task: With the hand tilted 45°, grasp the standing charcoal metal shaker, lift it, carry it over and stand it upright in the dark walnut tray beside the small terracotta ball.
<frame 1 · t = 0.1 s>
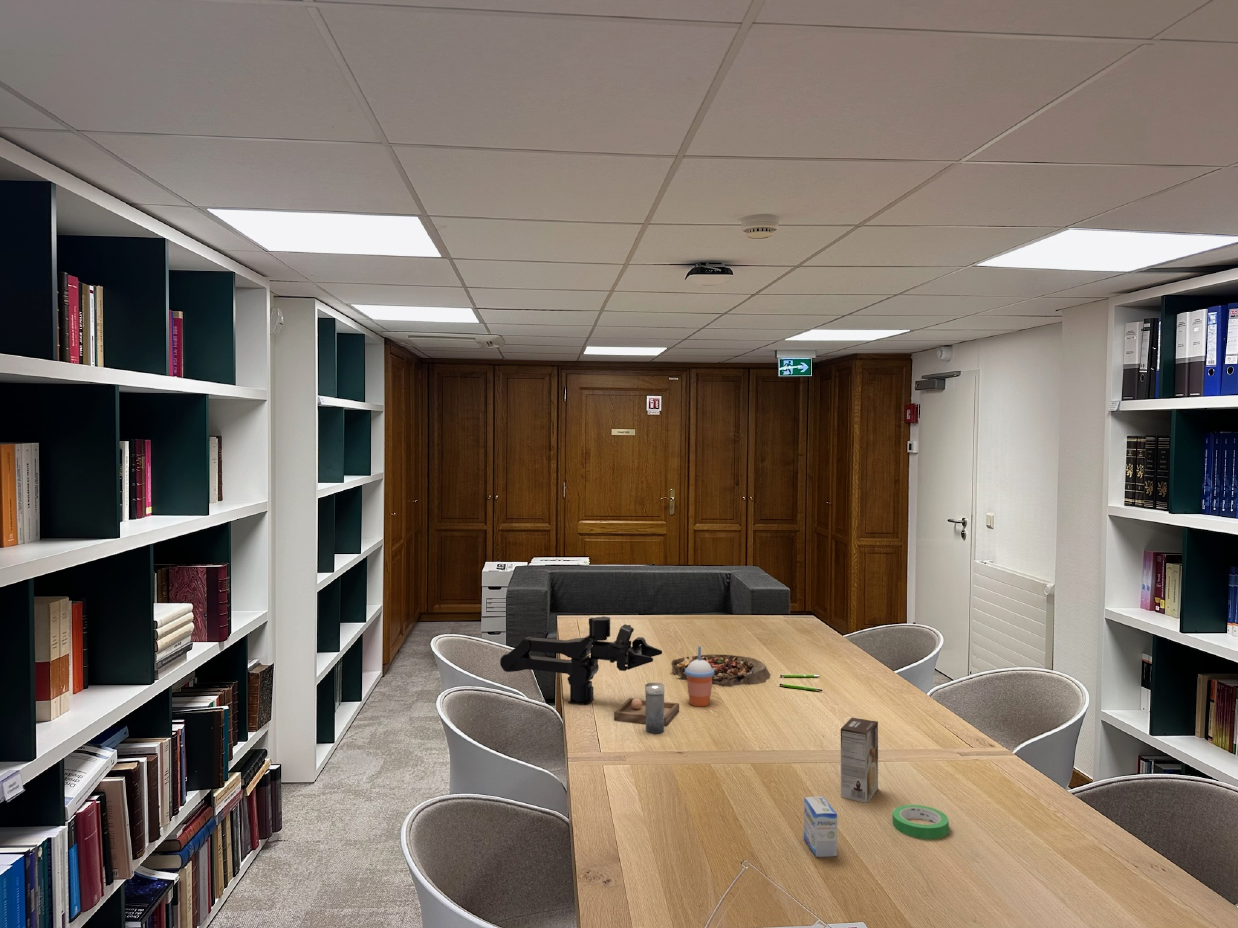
hand: (657, 655, 247), 17 cm above the table, tool horizontal, fingers open, 9 cm apart
tape roll: (920, 828, 171), on the table
shaker: (654, 730, 229), on the table
medicine box: (820, 848, 162), on the table
food dish: (720, 675, 287), on the table
coffee box: (859, 793, 187), on the table
ball: (636, 703, 245), point 3 cm above the table, tilted 132°, touching tray
tray: (647, 715, 242), on the table
cup with straw: (699, 704, 253), on the table
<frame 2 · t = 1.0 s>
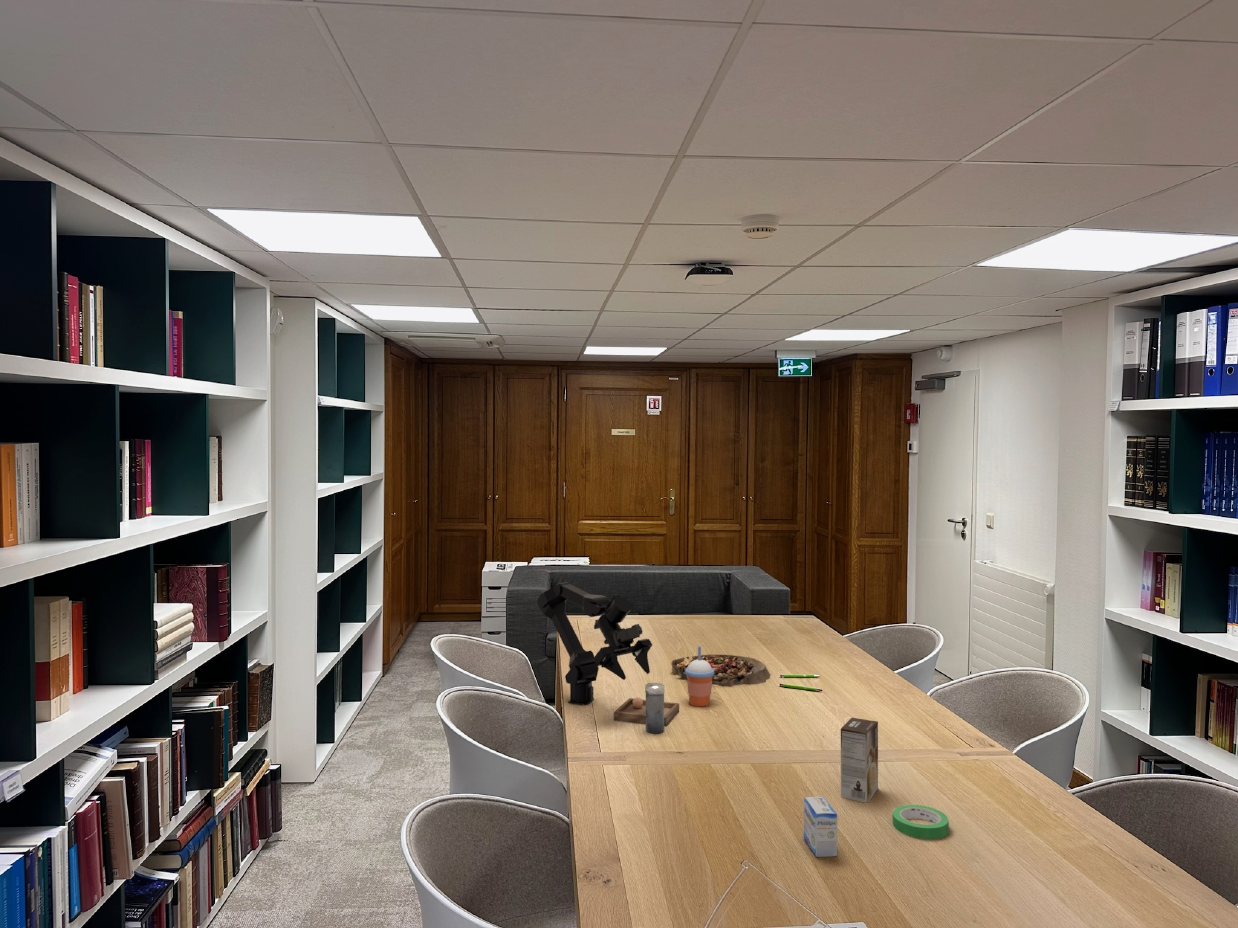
hand: (637, 675, 235), 14 cm above the table, tool tilted 45°, fingers open, 9 cm apart
ball: (637, 702, 246), point 3 cm above the table, tilted 94°, touching tray
everything else where it was.
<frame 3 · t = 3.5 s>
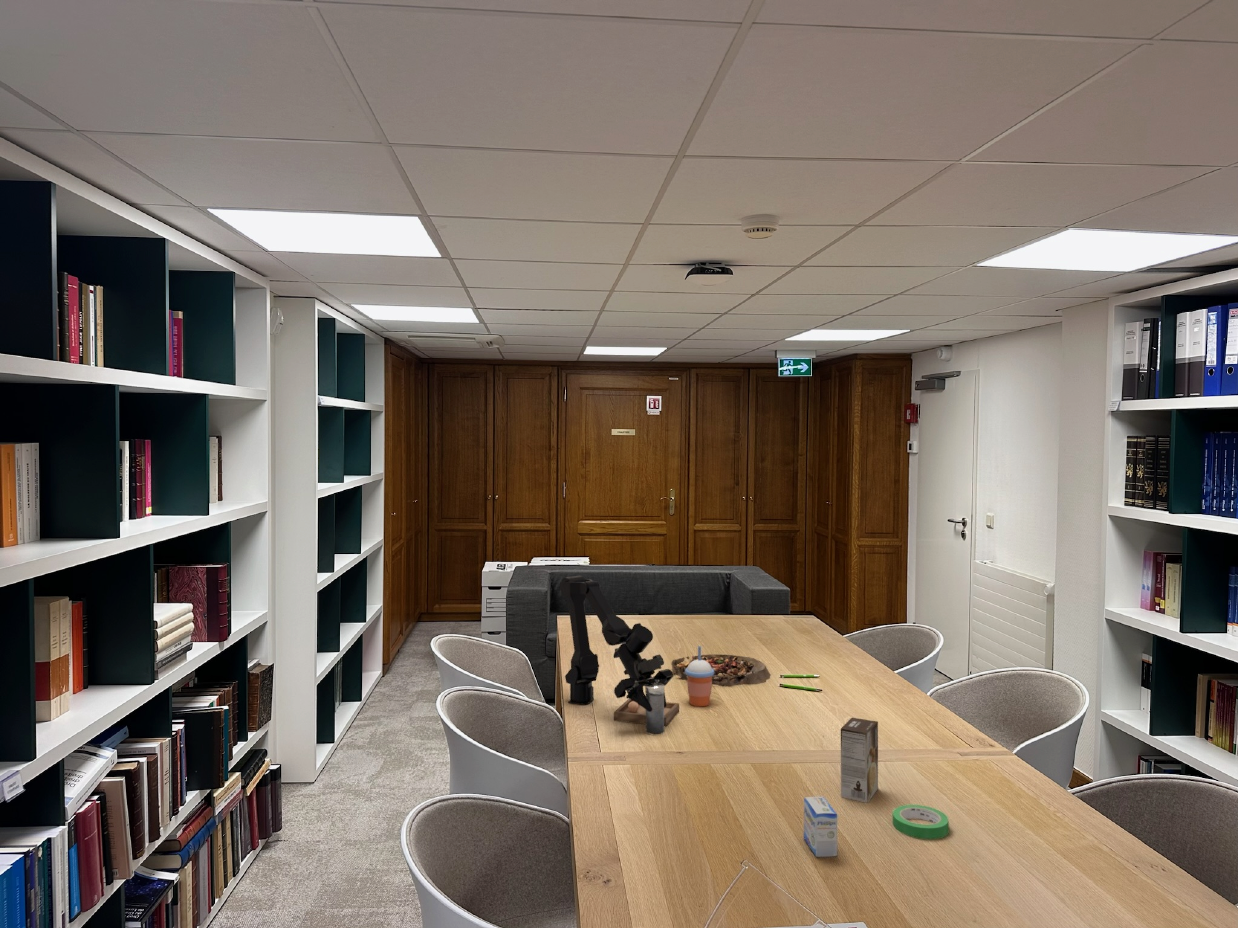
hand: (658, 708, 228), 7 cm above the table, tool tilted 45°, fingers closed on shaker, 5 cm apart
shaker: (654, 730, 229), on the table, touching gripper
ball: (633, 706, 242), point 3 cm above the table, tilted 117°, touching tray
everything else where it was.
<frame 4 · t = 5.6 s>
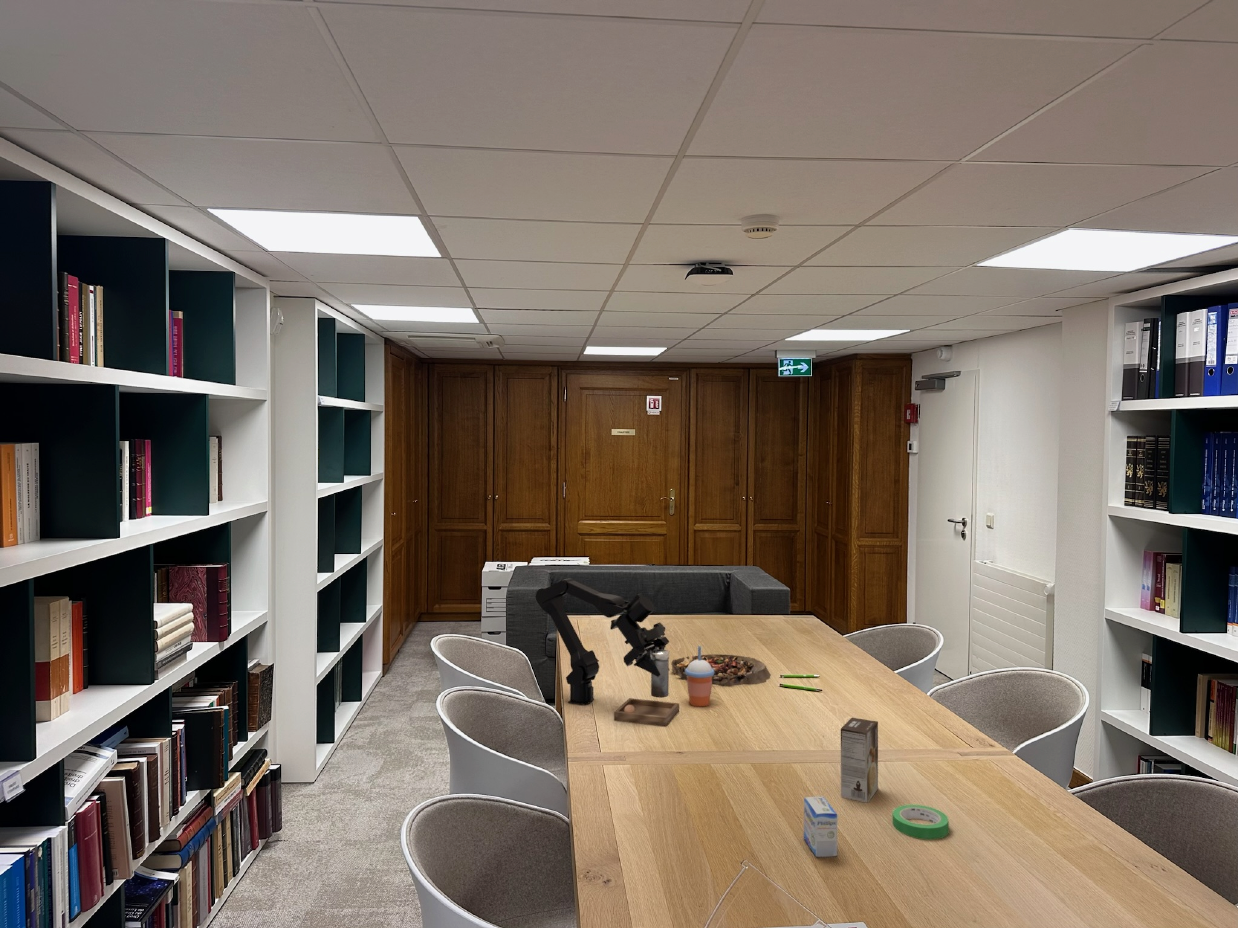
hand: (663, 673, 240), 13 cm above the table, tool tilted 45°, fingers closed on shaker, 5 cm apart
shaker: (659, 694, 241), point 7 cm above the table, touching gripper
ball: (629, 710, 239), point 3 cm above the table, touching tray
everything else where it was.
when the fingers open (9 cm above the table, at t = 7.0 s): shaker drops 1 cm, resting on tray.
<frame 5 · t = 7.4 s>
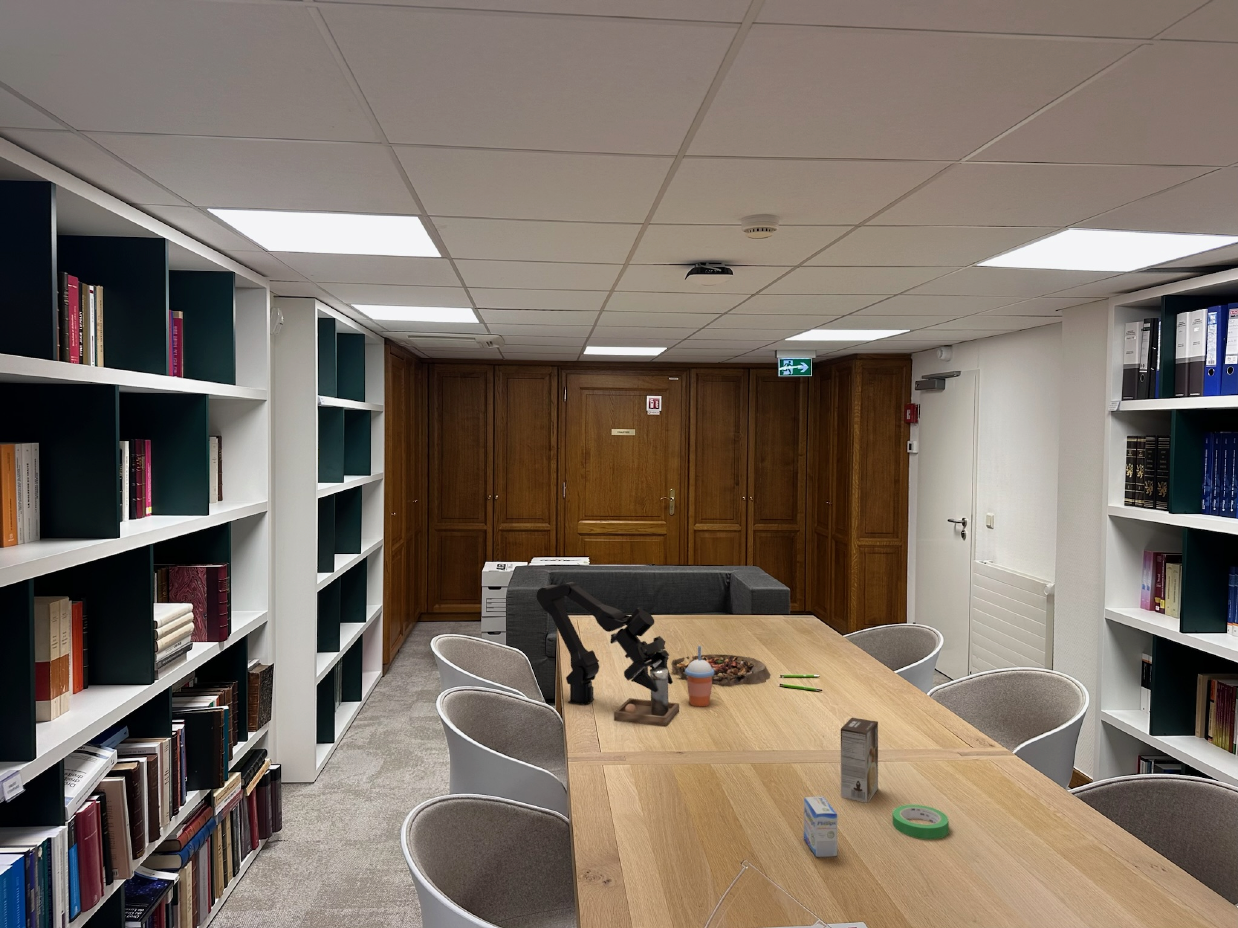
hand: (664, 687, 240), 9 cm above the table, tool tilted 45°, fingers open, 9 cm apart
shaker: (660, 713, 241), point 1 cm above the table, touching tray
ball: (630, 709, 240), point 3 cm above the table, tilted 31°, touching tray
everything else where it was.
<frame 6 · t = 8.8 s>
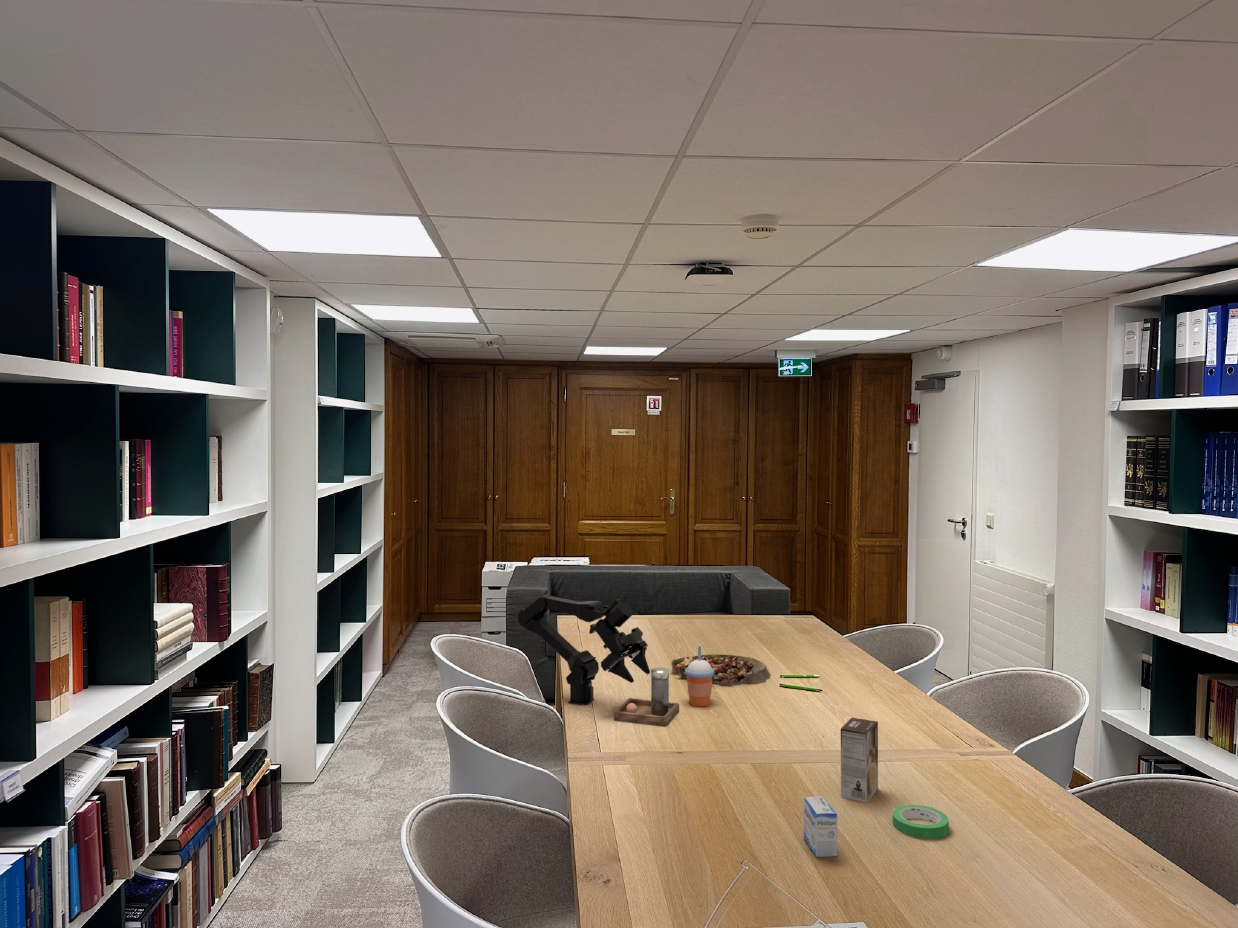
hand: (641, 677, 244), 11 cm above the table, tool tilted 45°, fingers open, 9 cm apart
ball: (631, 708, 241), point 3 cm above the table, tilted 57°, touching tray
everything else where it was.
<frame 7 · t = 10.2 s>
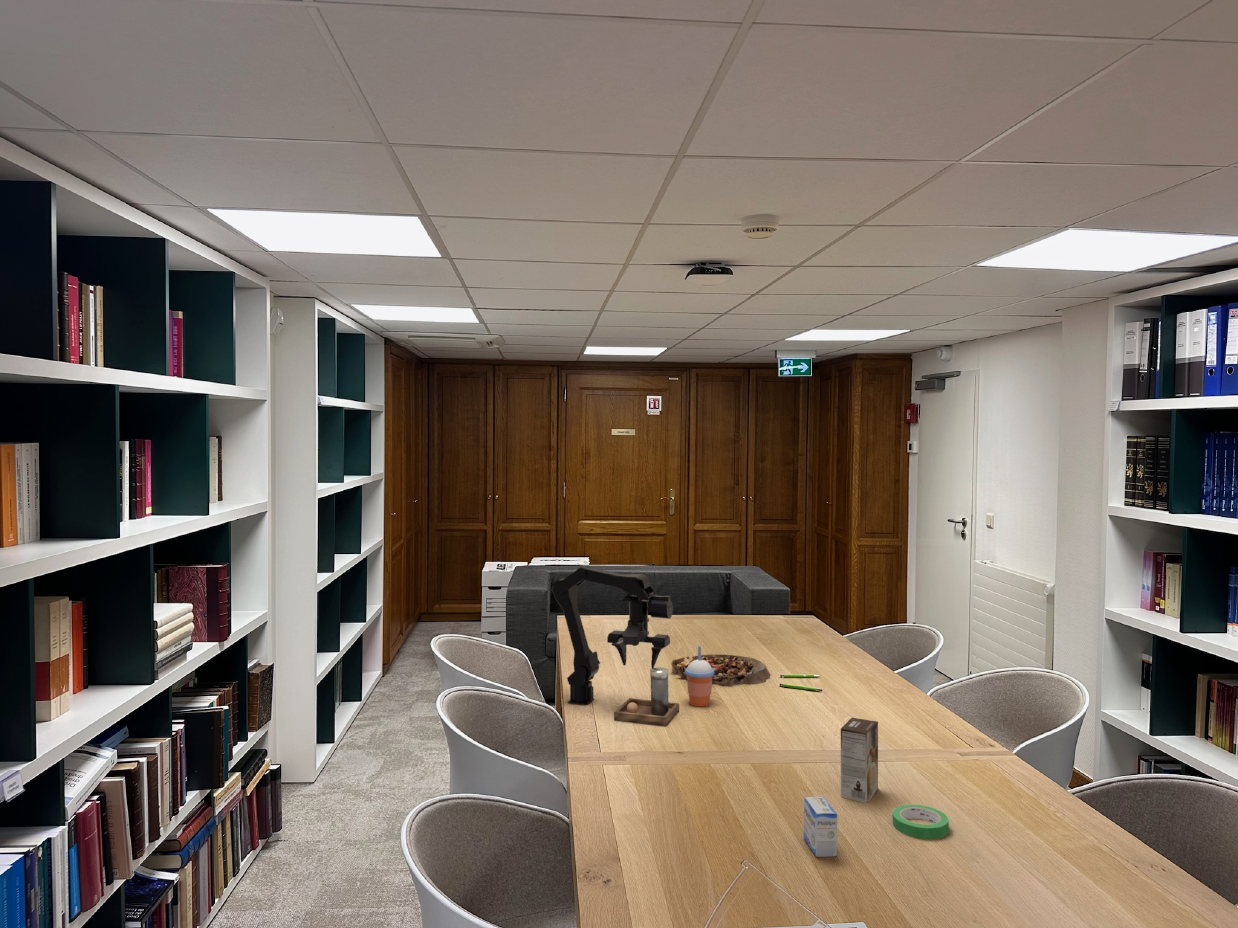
hand: (638, 666, 249), 13 cm above the table, tool pointing down, fingers open, 9 cm apart
ball: (632, 707, 241), point 3 cm above the table, tilted 83°, touching tray
everything else where it was.
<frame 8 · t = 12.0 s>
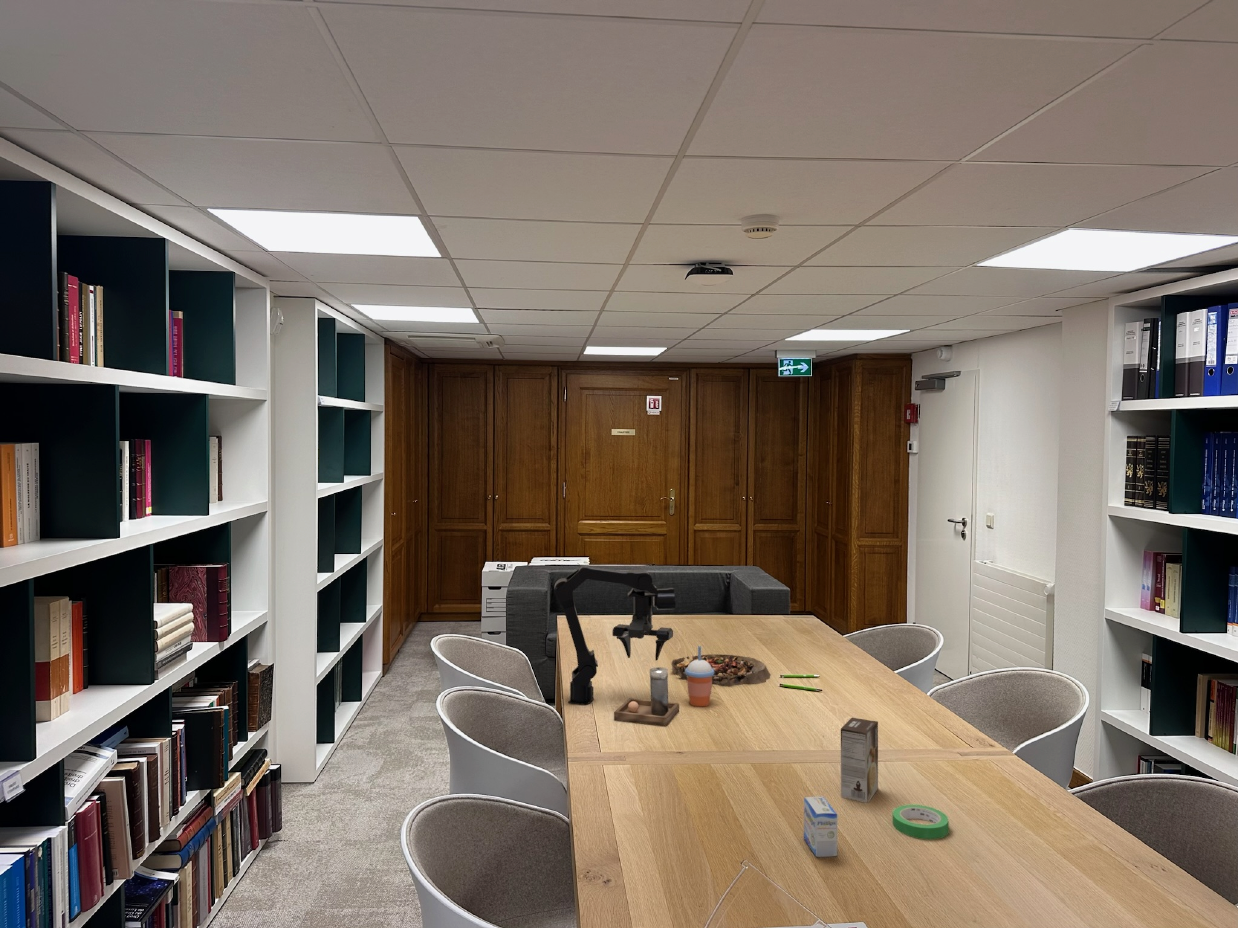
hand: (642, 658, 257), 13 cm above the table, tool pointing down, fingers open, 9 cm apart
ball: (633, 706, 242), point 3 cm above the table, tilted 117°, touching tray
everything else where it was.
at the end: shaker inside the target area on the tray (3.9 cm from its centre), point 1.1 cm above the tray's base; shaker tilted 2°; the gripper is holding nothing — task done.
